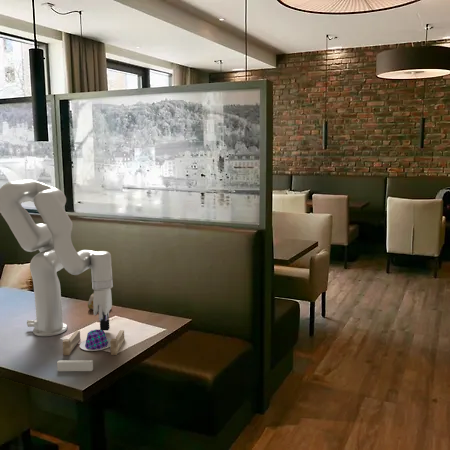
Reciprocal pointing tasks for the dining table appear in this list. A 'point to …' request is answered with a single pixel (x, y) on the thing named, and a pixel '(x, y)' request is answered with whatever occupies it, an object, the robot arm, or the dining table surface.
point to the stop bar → (75, 365)
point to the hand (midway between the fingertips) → (105, 329)
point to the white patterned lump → (91, 302)
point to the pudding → (95, 341)
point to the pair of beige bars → (75, 338)
